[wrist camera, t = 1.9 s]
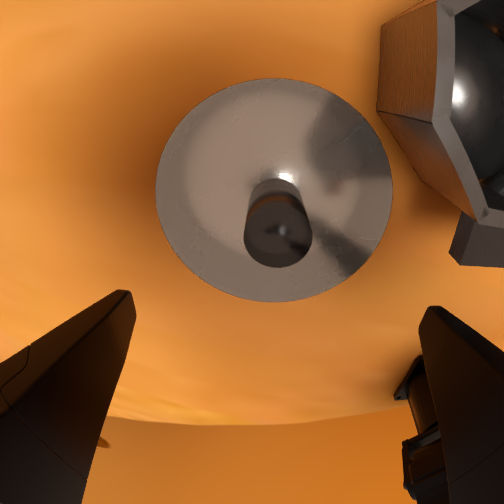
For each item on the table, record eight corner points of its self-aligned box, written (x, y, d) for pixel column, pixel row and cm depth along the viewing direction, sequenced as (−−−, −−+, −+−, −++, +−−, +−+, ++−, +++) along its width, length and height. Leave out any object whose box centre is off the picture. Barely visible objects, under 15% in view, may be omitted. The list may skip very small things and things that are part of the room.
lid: (360, 294, 20) (381, 349, 15) (171, 283, 20) (148, 337, 16) (399, 98, 13) (449, 105, 9) (159, 80, 14) (115, 78, 9)
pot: (500, 230, 16) (548, 275, 11) (361, 212, 16) (398, 268, 11) (525, 18, 8) (582, 18, 3) (378, -54, 8) (420, -98, 3)
